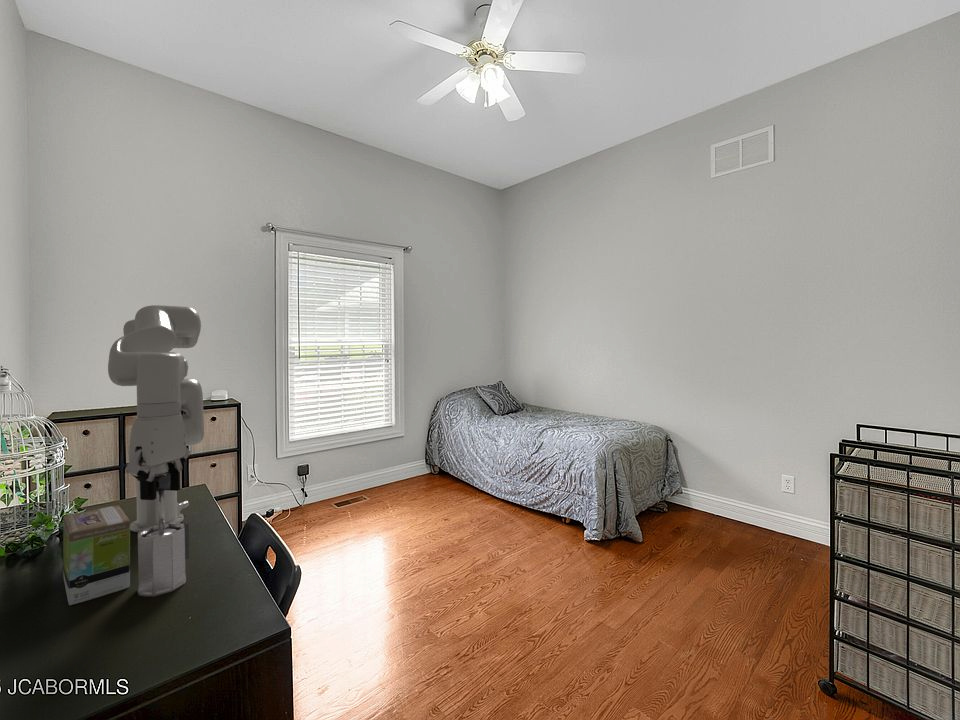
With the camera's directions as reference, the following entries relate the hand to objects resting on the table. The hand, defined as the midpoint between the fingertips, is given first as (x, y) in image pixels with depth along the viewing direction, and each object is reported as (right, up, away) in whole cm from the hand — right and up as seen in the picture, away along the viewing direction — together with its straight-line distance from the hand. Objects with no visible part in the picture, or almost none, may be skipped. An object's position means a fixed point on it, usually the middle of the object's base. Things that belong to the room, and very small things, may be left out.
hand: (160, 493), depth 93 cm
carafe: (0, -20, +2) cm, 20 cm away
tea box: (-15, -20, +1) cm, 25 cm away
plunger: (0, -9, 0) cm, 9 cm away
